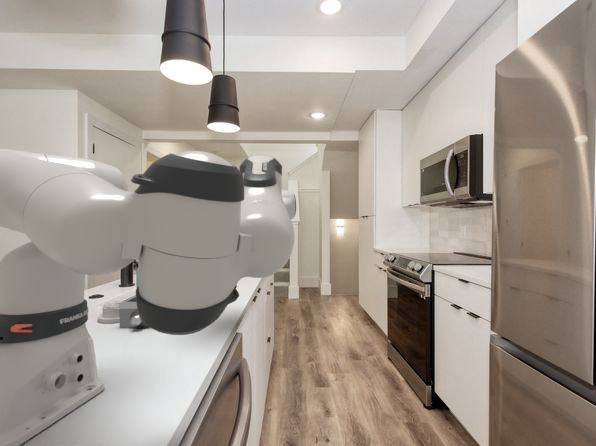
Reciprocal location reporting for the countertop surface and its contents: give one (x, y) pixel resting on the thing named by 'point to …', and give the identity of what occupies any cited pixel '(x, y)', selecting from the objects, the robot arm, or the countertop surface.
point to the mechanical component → (110, 313)
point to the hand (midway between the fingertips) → (184, 206)
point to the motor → (130, 314)
